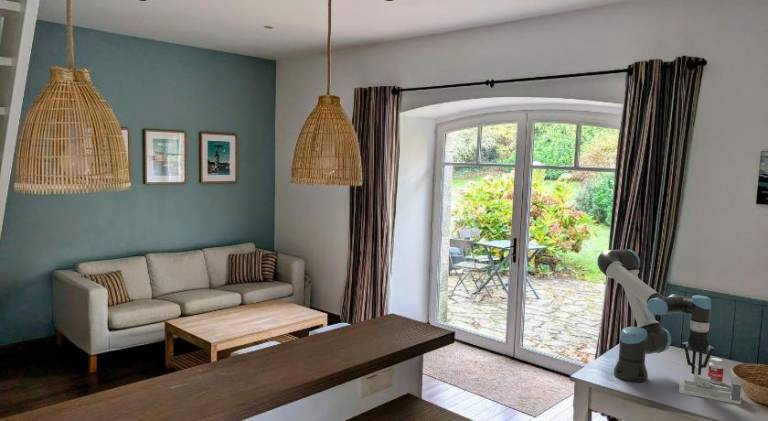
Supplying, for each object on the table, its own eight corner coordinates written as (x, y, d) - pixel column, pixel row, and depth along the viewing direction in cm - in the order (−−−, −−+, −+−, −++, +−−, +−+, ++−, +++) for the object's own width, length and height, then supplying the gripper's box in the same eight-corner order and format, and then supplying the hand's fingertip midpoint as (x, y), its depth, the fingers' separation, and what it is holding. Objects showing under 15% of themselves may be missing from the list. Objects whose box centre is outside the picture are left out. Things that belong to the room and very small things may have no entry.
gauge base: (678, 392, 259) (680, 374, 258) (679, 385, 267) (680, 368, 267) (740, 404, 247) (742, 386, 247) (739, 396, 256) (740, 378, 255)
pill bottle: (708, 382, 272) (710, 360, 271) (706, 378, 278) (708, 356, 277) (723, 385, 269) (725, 362, 269) (721, 380, 275) (723, 358, 274)
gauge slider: (696, 392, 255) (697, 379, 255) (696, 387, 262) (697, 374, 261) (714, 395, 252) (715, 382, 252) (713, 390, 258) (714, 377, 258)
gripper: (682, 329, 257) (679, 380, 259) (716, 334, 251) (712, 386, 253) (683, 326, 264) (679, 375, 266) (715, 330, 258) (711, 381, 259)
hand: (695, 381), depth 259 cm, fingers closed
